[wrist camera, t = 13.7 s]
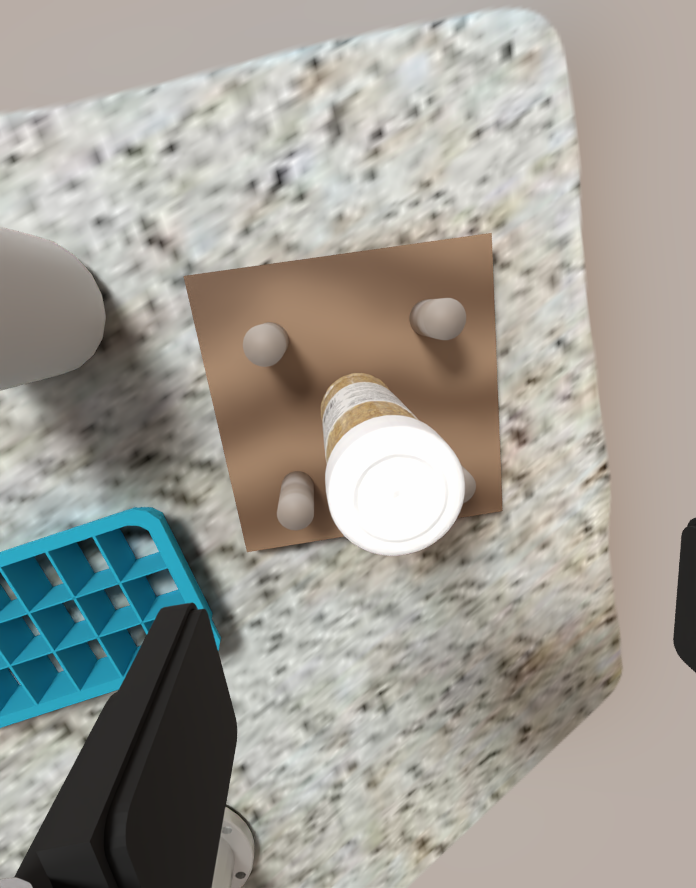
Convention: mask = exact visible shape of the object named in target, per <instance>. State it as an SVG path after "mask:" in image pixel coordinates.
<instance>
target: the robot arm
mask: <svg viewBox="0 0 696 888" xmlns="http://www.w3.org/2000/svg"><path fill="white" fill-rule="evenodd" d="M674 626H675V627H674V638H673V640H674V646H675V649H676V651H677V653H678V655H679V656H680V658H681V659H682V660H683V661H684V662H685V663H686V664H687V665H688V666H689V667H690V668H691V669H693V671H695V672H696V518H694V519H692V520H690V522H689V523H688V526H687V527H686V528H685V529H684V530H683V532H682V536H681V550H680V562H679V575H678V588H677V600H676V613H675V625H674ZM236 742H237V722H236V717H235V713H234V710H233V706H232V702H231V698H230V694H229V691H228V687H227V683H226V679H225V676H224V672H223V668H222V664H221V661H220V657H219V653H218V649H217V645H216V642H215V638H214V634H213V630H212V627H211V623H210V619H209V615H208V613H207V611H206V609H198V608H197V606H196V605H195V603H193V602H192V603H186V604H180V605H174V606H168V607H163V608H161V609H160V611H159V612H158V614H157V616H156V618H155V620H154V622H153V624H152V626H151V628H150V630H149V632H148V634H147V636H146V637H145V639H144V641H143V643H142V645H141V647H140V649H139V651H138V653H137V655H136V657H135V659H134V661H133V663H132V665H131V667H130V669H129V671H128V673H127V675H126V677H125V679H124V681H123V682H122V684H121V686H120V688H119V690H118V692H116V693H115V694H113V695H112V696H111V697H110V698H109V700H108V701H107V703H106V704H105V706H104V708H103V710H102V712H101V713H100V715H99V717H98V719H97V721H96V723H95V725H94V727H93V729H92V731H91V732H90V734H89V736H88V738H87V740H86V742H85V744H84V746H83V748H82V750H81V751H80V753H79V755H78V757H77V759H76V761H75V763H74V765H73V767H72V769H71V770H70V772H69V774H68V776H67V778H66V780H65V782H64V784H63V786H62V787H61V789H60V791H59V793H58V795H57V797H56V799H55V801H54V803H53V805H52V806H51V808H50V810H49V812H48V814H47V816H46V818H45V820H44V822H43V824H42V825H41V827H40V829H39V831H38V833H37V835H36V837H35V839H34V841H33V843H32V844H31V846H30V848H29V850H28V852H27V854H26V856H25V858H24V860H23V861H22V863H21V865H20V867H19V869H18V871H17V873H16V875H15V877H14V878H4V879H0V888H241V887H242V886H243V885H244V883H245V882H246V881H247V879H248V878H249V875H250V873H251V871H252V868H253V860H254V853H255V848H254V839H253V836H252V833H251V831H250V829H249V828H248V826H247V824H246V823H245V822H244V821H243V820H242V819H241V818H240V817H239V816H238V815H237V814H236V813H234V812H233V811H231V810H230V809H229V808H227V807H226V801H227V795H228V789H229V783H230V778H231V772H232V766H233V760H234V754H235V748H236Z"/></svg>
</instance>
